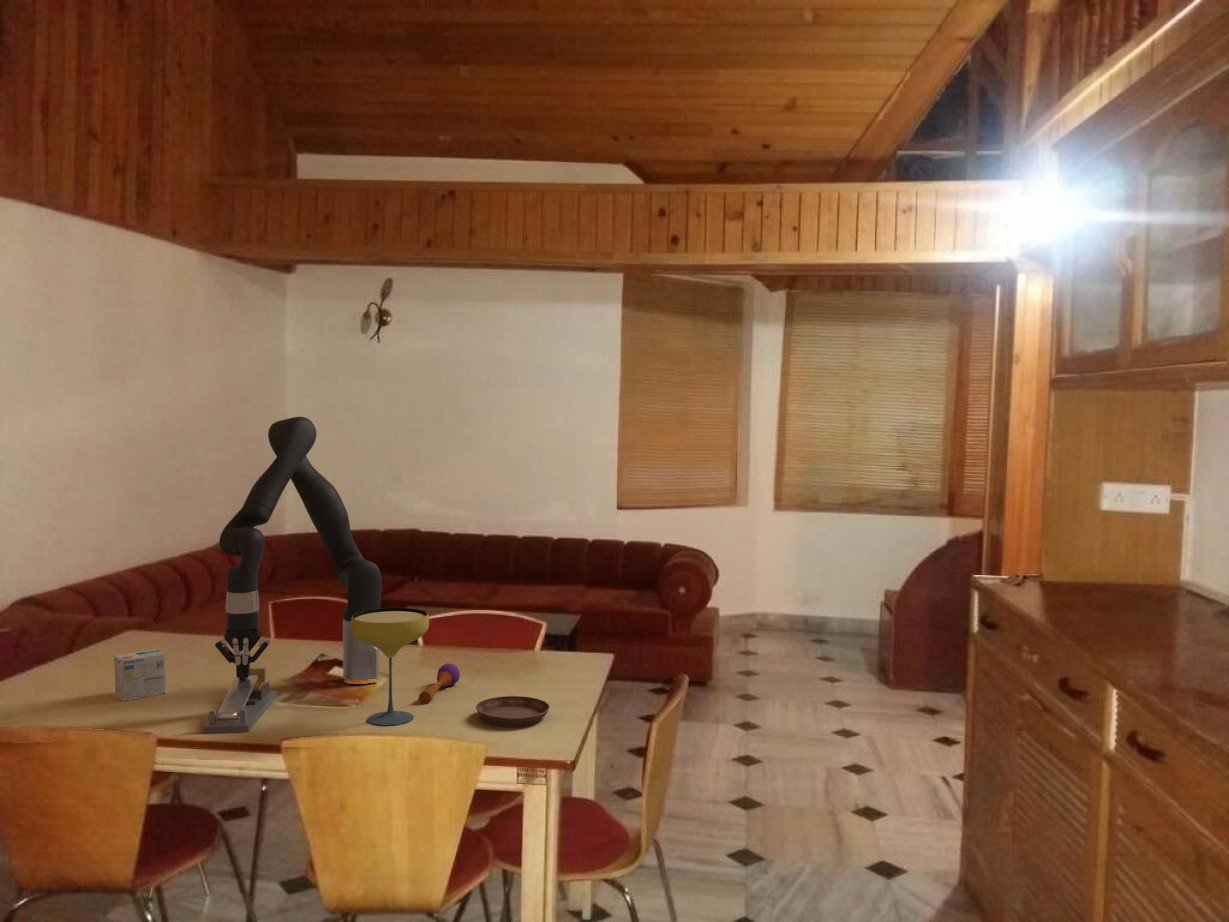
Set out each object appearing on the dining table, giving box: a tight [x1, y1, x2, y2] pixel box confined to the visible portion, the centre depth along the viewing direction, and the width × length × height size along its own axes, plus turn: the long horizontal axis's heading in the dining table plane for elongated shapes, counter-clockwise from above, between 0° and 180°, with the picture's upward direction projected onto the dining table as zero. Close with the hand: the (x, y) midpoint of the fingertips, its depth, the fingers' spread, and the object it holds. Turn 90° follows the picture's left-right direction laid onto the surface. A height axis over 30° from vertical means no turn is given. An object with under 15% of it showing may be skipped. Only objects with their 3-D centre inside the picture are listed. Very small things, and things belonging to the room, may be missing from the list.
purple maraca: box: [418, 663, 461, 704], centre depth 254 cm, size 6×6×20 cm
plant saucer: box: [475, 695, 550, 728], centre depth 234 cm, size 18×18×3 cm
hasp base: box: [202, 681, 278, 734], centre depth 234 cm, size 28×10×4 cm, turn 6°
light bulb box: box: [114, 648, 167, 701], centre depth 249 cm, size 11×7×11 cm, turn 135°
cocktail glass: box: [351, 607, 430, 727], centre depth 231 cm, size 18×18×25 cm
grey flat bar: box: [217, 675, 257, 721], centre depth 230 cm, size 18×5×2 cm, turn 7°
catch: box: [249, 666, 267, 691], centre depth 244 cm, size 7×5×4 cm
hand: (243, 679), depth 236 cm, fingers closed
